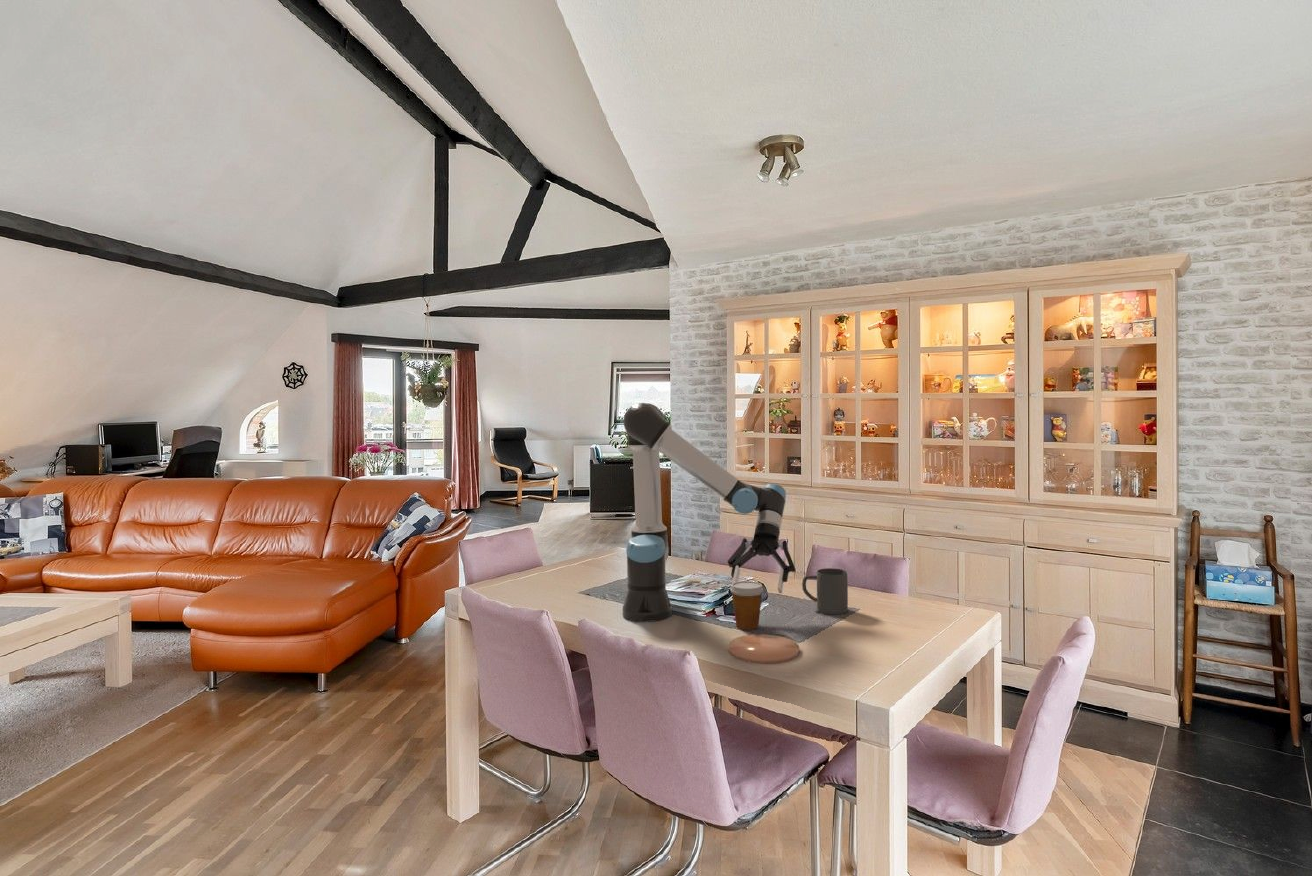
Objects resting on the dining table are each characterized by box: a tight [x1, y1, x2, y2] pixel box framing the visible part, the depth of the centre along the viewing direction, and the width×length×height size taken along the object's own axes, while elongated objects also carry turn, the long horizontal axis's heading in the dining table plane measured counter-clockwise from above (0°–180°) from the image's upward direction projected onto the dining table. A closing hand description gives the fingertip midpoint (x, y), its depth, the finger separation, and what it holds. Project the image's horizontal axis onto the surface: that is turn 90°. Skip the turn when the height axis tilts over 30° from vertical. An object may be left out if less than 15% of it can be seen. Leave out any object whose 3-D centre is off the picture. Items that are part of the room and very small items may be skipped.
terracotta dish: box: [727, 633, 800, 664], centre depth 174 cm, size 18×18×1 cm
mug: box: [801, 567, 849, 615], centre depth 209 cm, size 14×9×12 cm
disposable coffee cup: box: [729, 580, 764, 630], centre depth 194 cm, size 10×10×12 cm
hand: (756, 589), depth 198 cm, fingers open, 13 cm apart
